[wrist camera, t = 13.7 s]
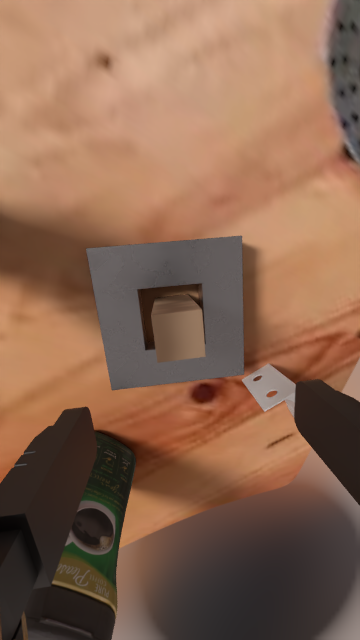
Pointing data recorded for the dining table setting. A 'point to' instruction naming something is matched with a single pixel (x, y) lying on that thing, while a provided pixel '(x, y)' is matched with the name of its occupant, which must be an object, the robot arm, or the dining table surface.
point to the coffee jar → (88, 556)
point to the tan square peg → (177, 328)
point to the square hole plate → (160, 271)
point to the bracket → (271, 388)
